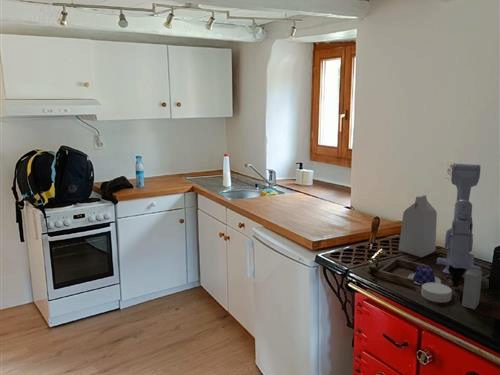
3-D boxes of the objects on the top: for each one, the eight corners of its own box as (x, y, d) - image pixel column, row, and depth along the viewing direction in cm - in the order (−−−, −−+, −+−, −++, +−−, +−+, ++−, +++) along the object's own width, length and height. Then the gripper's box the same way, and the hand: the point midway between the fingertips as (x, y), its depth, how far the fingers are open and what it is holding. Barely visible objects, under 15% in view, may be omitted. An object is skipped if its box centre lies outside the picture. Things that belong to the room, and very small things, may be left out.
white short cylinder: (437, 305, 147) (438, 296, 147) (414, 293, 156) (415, 284, 155) (457, 299, 151) (458, 290, 151) (434, 288, 160) (435, 279, 160)
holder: (429, 272, 174) (429, 265, 174) (412, 287, 161) (413, 280, 160) (395, 263, 183) (396, 257, 183) (377, 277, 170) (377, 270, 169)
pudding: (401, 278, 169) (401, 266, 168) (421, 272, 175) (422, 260, 174) (427, 290, 159) (428, 277, 158) (447, 283, 165) (448, 270, 164)
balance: (378, 260, 187) (379, 246, 185) (387, 263, 184) (388, 248, 183) (364, 270, 177) (365, 254, 176) (374, 272, 174) (375, 257, 173)
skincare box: (465, 299, 151) (469, 267, 149) (479, 303, 148) (483, 270, 146) (461, 306, 146) (464, 273, 144) (475, 309, 144) (478, 276, 141)
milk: (412, 244, 207) (416, 191, 202) (435, 251, 198) (440, 196, 193) (398, 250, 200) (402, 195, 194) (421, 257, 191) (426, 200, 185)
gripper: (435, 249, 158) (432, 284, 161) (478, 259, 149) (474, 295, 152) (441, 244, 163) (438, 278, 166) (483, 253, 154) (479, 288, 157)
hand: (455, 286), depth 159 cm, fingers closed
